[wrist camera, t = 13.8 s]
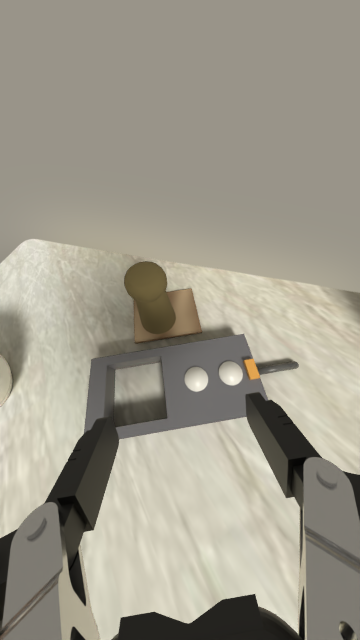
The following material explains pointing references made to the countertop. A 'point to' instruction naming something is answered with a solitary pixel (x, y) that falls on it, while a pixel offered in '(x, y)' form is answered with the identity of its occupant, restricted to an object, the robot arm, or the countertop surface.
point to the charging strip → (185, 383)
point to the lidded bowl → (5, 380)
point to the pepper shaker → (150, 296)
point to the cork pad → (183, 324)
